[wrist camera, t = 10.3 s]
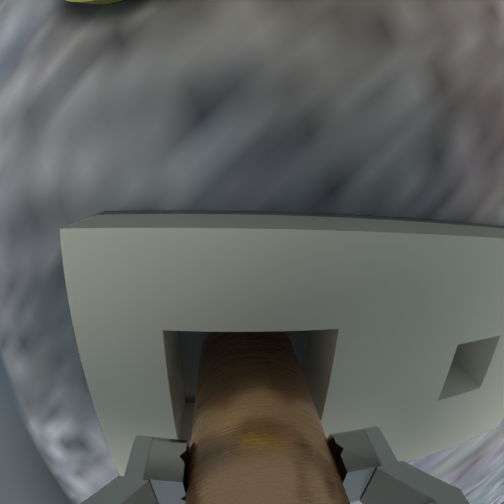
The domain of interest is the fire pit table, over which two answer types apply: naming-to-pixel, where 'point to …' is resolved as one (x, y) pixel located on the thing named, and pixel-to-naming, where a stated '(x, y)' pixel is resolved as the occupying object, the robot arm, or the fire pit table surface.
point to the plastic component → (95, 1)
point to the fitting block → (292, 317)
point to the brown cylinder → (257, 427)
